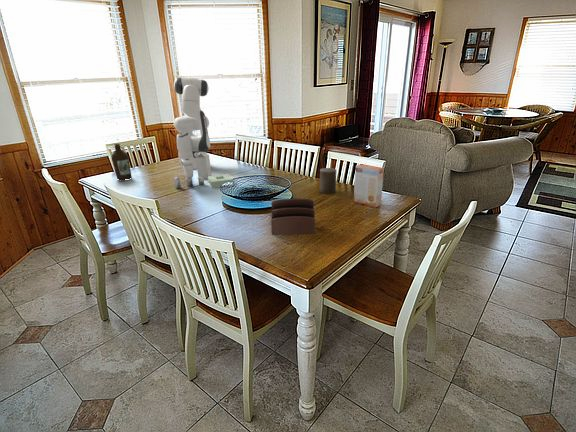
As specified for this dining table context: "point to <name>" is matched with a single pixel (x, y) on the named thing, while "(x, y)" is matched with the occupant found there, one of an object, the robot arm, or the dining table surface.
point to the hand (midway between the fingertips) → (189, 180)
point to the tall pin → (189, 184)
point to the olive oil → (121, 163)
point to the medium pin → (177, 182)
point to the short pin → (201, 181)
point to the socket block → (219, 180)
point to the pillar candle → (327, 180)
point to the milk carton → (203, 165)
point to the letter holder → (293, 216)
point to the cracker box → (368, 185)
